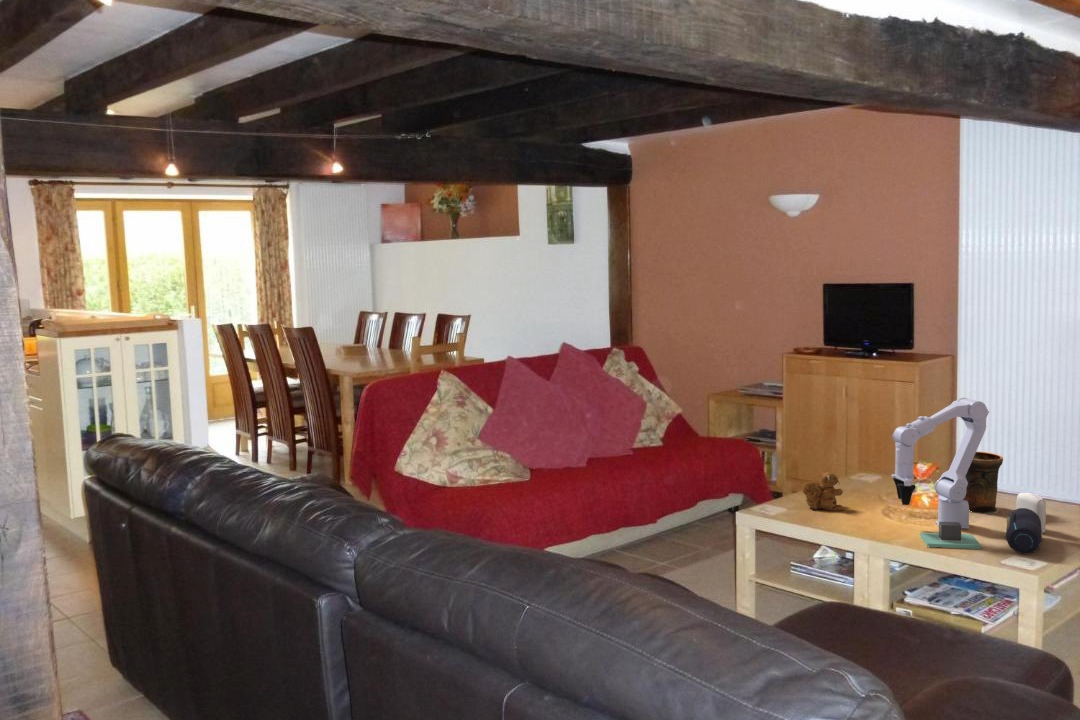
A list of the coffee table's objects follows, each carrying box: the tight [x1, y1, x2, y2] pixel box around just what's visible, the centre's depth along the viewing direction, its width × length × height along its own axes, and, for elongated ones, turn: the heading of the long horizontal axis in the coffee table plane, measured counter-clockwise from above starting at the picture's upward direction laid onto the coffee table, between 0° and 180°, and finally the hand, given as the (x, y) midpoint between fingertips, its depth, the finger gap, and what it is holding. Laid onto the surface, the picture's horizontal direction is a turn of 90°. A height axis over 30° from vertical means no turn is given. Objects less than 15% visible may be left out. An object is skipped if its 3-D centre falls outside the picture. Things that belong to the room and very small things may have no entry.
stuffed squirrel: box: [801, 471, 845, 512], centre depth 349 cm, size 10×14×13 cm
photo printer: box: [1015, 492, 1047, 534], centre depth 316 cm, size 10×4×12 cm, turn 14°
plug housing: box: [938, 522, 962, 541], centre depth 304 cm, size 6×4×5 cm, turn 78°
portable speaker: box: [1005, 508, 1043, 555], centre depth 300 cm, size 25×10×10 cm, turn 153°
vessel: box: [963, 451, 1004, 515], centre depth 342 cm, size 14×14×20 cm
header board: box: [919, 532, 982, 550], centre depth 305 cm, size 16×12×4 cm
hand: (903, 501), depth 320 cm, fingers open, 7 cm apart
